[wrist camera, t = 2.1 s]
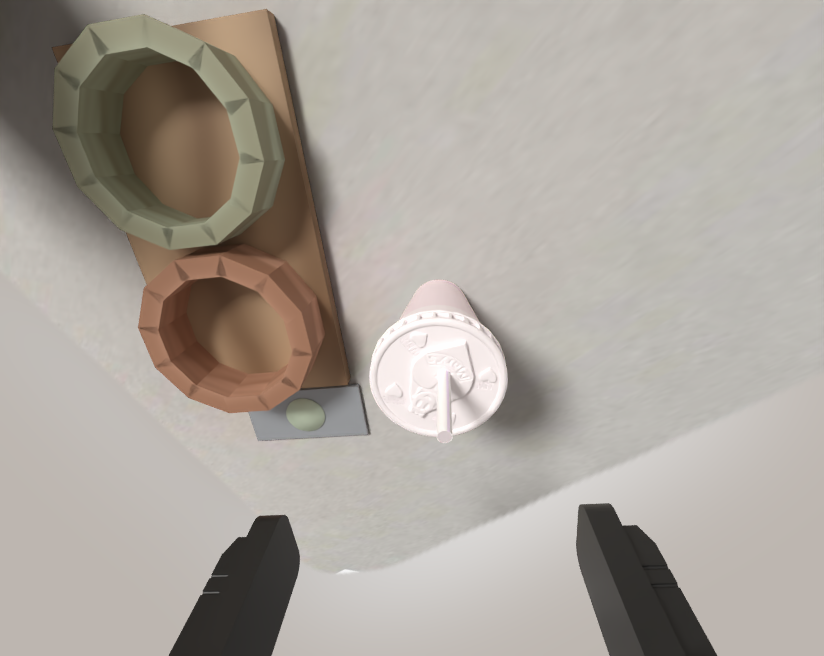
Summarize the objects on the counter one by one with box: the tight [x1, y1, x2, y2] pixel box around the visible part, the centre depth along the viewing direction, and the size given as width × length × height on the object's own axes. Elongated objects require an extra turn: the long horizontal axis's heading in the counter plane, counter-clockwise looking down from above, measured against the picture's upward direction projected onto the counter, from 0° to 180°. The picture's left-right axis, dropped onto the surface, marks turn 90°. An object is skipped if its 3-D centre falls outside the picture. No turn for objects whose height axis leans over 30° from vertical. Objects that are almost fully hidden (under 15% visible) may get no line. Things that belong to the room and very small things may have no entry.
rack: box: [52, 9, 351, 413], centre depth 24 cm, size 12×22×4 cm, turn 7°
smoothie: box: [369, 280, 508, 443], centre depth 21 cm, size 6×6×14 cm
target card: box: [248, 384, 368, 441], centre depth 31 cm, size 9×4×1 cm, turn 97°
